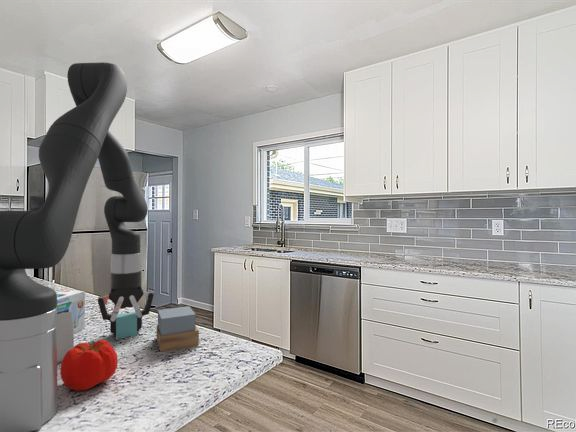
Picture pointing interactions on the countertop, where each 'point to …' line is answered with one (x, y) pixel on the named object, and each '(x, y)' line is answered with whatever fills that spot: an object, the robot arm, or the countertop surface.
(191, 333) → the base block
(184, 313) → the top block
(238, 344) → the countertop surface
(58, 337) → the white cardboard box
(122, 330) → the teal cube
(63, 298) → the light bulb box
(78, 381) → the tomato
